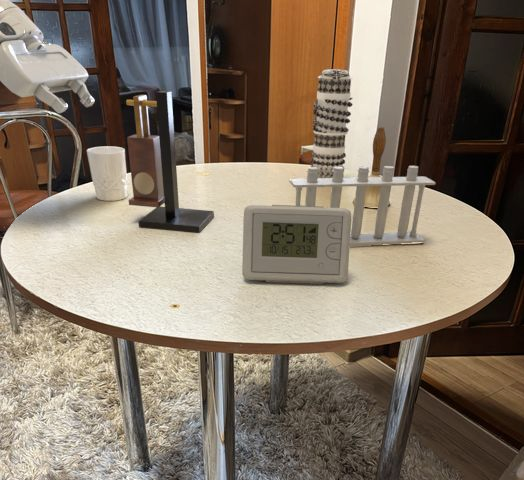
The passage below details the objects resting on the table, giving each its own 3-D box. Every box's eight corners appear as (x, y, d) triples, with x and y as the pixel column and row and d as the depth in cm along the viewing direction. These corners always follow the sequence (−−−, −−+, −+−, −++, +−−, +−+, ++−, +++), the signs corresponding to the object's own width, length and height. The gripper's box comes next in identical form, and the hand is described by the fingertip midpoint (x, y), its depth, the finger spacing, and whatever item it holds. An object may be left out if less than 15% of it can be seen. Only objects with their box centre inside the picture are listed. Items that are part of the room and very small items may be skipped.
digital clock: (237, 282, 77) (236, 212, 72) (251, 260, 85) (252, 195, 79) (344, 294, 74) (352, 223, 69) (349, 271, 82) (357, 205, 76)
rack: (129, 226, 98) (113, 92, 85) (149, 211, 106) (137, 87, 94) (199, 232, 96) (193, 96, 83) (214, 216, 104) (210, 90, 92)
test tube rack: (414, 236, 97) (427, 163, 90) (424, 244, 93) (439, 169, 86) (285, 240, 93) (288, 165, 86) (290, 249, 90) (294, 171, 83)
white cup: (101, 191, 118) (94, 145, 112) (134, 193, 117) (129, 147, 112) (88, 200, 111) (80, 152, 106) (123, 202, 111) (117, 154, 105)
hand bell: (390, 210, 110) (403, 131, 102) (352, 207, 112) (361, 128, 103) (389, 199, 117) (401, 124, 109) (353, 197, 119) (361, 122, 110)
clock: (128, 205, 98) (116, 96, 88) (139, 198, 102) (128, 93, 92) (158, 207, 97) (149, 98, 87) (167, 200, 101) (159, 95, 91)
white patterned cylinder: (351, 181, 131) (363, 70, 117) (330, 188, 125) (341, 72, 111) (322, 175, 136) (331, 68, 122) (301, 181, 130) (307, 69, 116)
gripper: (43, 55, 99) (97, 113, 102) (-31, 59, 82) (37, 128, 85) (59, 28, 96) (114, 89, 99) (-14, 26, 79) (56, 99, 82)
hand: (78, 107), depth 92 cm, fingers open, 8 cm apart
